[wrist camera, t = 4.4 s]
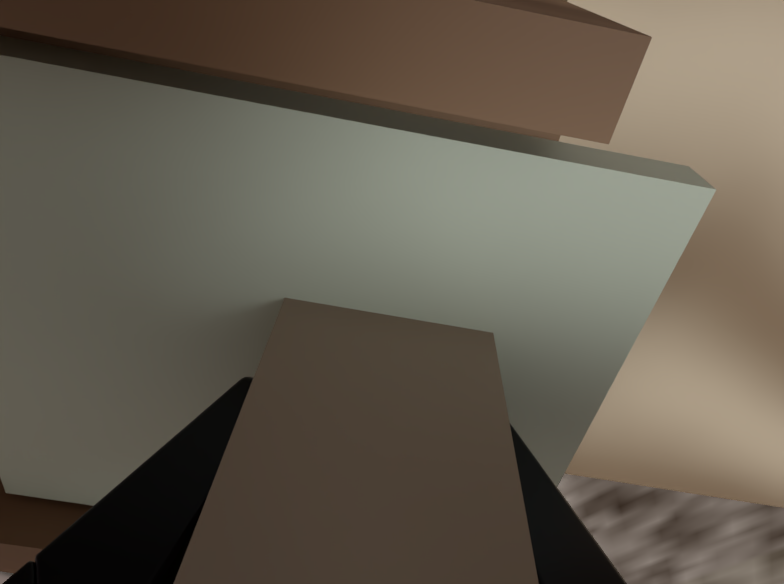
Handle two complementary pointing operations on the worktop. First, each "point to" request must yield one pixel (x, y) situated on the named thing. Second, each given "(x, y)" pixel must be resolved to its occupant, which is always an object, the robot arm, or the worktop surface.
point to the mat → (705, 258)
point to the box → (352, 85)
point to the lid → (312, 310)
